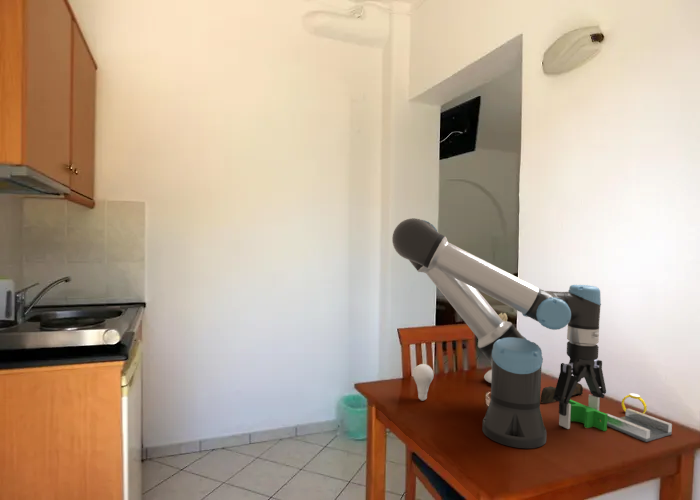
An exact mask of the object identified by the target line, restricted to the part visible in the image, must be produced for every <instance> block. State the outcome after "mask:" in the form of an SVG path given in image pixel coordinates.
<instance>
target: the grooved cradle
mask: <svg viewBox="0 0 700 500" xmlns="http://www.w3.org/2000/svg"><path fill="white" fill-rule="evenodd" d="M607 414H608V415H607V428H608V427H609V428H610V429H613V430H616V431H619V432H621V433H623V434H626V435H628V436H630V437H633V438H635V439H637V440H639V441H643V442H645V443H647V442H651V441H654V440H658V439H661V438H665V437H668V436H671V435H672V430H673V429H672V427H673V424H672V423H671V422H668V421H665V420H662V419H660V418H657V417H654V416H652V415H648V414H647V413H645V414H643V412H640V411H637V410H634V409H632V408H626V412H625V414H624V415H625V416H621V417H618V416H615V415H612V414H610V413H607Z"/></svg>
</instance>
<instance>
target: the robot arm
mask: <svg viewBox="0 0 700 500" xmlns="http://www.w3.org/2000/svg"><path fill="white" fill-rule="evenodd" d="M391 237H392V245H393V248H394V250H395V251H396V253H397V254H398V255H399V256H401V258H403V259H405V260H408V261H409V263H411V265H412V266H413V267H414V268H415V270H416V271H417V272H418V273H424V274H426V275H427V277H428V278H429V279H430V281H432V283H433V284H434V285H435V286H436V288H437V289H438V290H439V291H440V293H441V294H442V295H443V296H444V298H445V299H446V301H448V303H449V304H450V305H451V307H452V308H453V309H454V310H455V311H456V313H457V314H458V315H459V316H460V318H461V319H462V321H463V322H464V323H465V324H466V325H467V326H468V328H469V329H470V330H471V331H472V333H473V334H474V335H475V337H476V338H477V339H478V340H477V341H478V342H477V347H478V349H479V351H481V352H482V354H483V355H484V356H485V358H486V359H487V360H488V362H489V363H490V364H491V369H492V380H491V383H490V402H489V404H488V406H487V410H486V412H485V416H484V418H483V419H482V428H481V429H482V432H483V434H484V435H485V436H486V437H487V438H489V439H490V440H491V441H493V442H495V443H498V444H501V445H504V446H507V447H512V448H517V449H536V448H540V447H542V446H544V445H545V444H546V443H547V429H546V426H545V425H544V419H543V416H542V412H541V407H540V406H541V392H542V390H541V388H542V387H541V386H542V365H543V362H544V361H543V360H544V358H543V353H542V348H541V347H540V346H539V345H538V344H537V343H536V342H533V341H531V340H529V339H527V338H526V336H525V337H524V336H523V335H522V334H521V333H520V332H519V330H518V329H517V328H516V326H515V325H514V324H513V323H512V322H511V321H508V320H507V321H503V320H502V319H501V318H500V317H499V316H498V315H499V314H498V313H497V312H496V311H495V309H494V308H493V307H492V306H491V305H490V304H489V301H487V300H486V299H485V297H484V296H483V294H485V295H487V296H489V297H491V298H492V299H494V300H497V301H498V302H500V303H502V304H504V305H506V306H508V307H510V308H512V309H514V310H516V311H518V312H519V313H521V315H522V316H524V317H525V318H530V319H532V320H534V321H536V322H538V323H539V324H540V325H541V327H544V328H546V329H549V330H553V331H555V330H561V329H564V328H566V326H567V330H566V331H567V333H566V339H567V340H568V341H567V342H566V355H567V356H568V357H569V362H568V363H564V362H562V363H560V365H559V366H560V370H559V371H560V372H559V374H558V378H557V381H556V385H555V388H556V389H555V392H554V396H553V399H554V400H556V401H555V402H558V414H559V417H558V426H560V427H563V428H564V429H567V430H569V429H571V421H570V414H571V404H570V403H569V401H570V400H571V398H572V396H573V395H572V394H573V392H574V390H575V387H576V385H577V383H579V382H581V381H582V379H584V380H585V382H586V384H587V386H588V389H589V391H590V394H588V405H587V406H588V407H590V408H593V409H596V410H598V411H600V406H601V402H600V401H601V398H602V399H604V398H605V396H606V393H607V388H606V383H605V378H604V372H603V361H602V360H600V359H599V346H598V344H599V340H600V339H599V338H600V337H599V336H600V317H601V316H600V315H601V305H602V303H601V301H602V300H601V290H600V288H599V287H597V286H595V285H588V284H571V285H569V289H568V291H554V290H551V291H550V290H544V289H541V288H539V287H538V286H535V285H534V284H532V283H529V282H527V281H525V280H523V279H522V278H519V277H518V276H515V275H514V274H512V273H509V272H508V271H506V270H504V269H502V268H500V267H498V266H496V265H494V264H492V263H490V262H488V261H486V260H484V259H483V258H480V257H479V256H476V255H474V254H472V253H471V252H469V251H466V250H465V249H462V248H460V247H458V246H457V245H455V244H453V243H450V242H449V241H448V239H447V237H446V236H445V235H443V234H441V233H440V232H438V230H437V228H436V226H434V225H433V224H432V223H430V222H429V221H427V220H424V219H420V218H408V219H404V220H402V221H401V222H400V223H398V224H397V225H396V227H395V228H394V230H393V233H392V236H391ZM482 293H483V294H482Z"/></svg>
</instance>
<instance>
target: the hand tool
mask: <svg viewBox="0 0 700 500" xmlns="http://www.w3.org/2000/svg"><path fill="white" fill-rule="evenodd" d="M555 389H556V386H551V385H550V386H545V387H543V388H542V390H541V393H540V404H550V403H555V402H557V401H556V400H554V399H553V396H554V392H555ZM583 393H584V387H583V385H582V384H581V383H579V382H578V383H577V385H576V387H575V390H574V392H573V394H572V396H576V395H578V396H582V395H583Z"/></svg>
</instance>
